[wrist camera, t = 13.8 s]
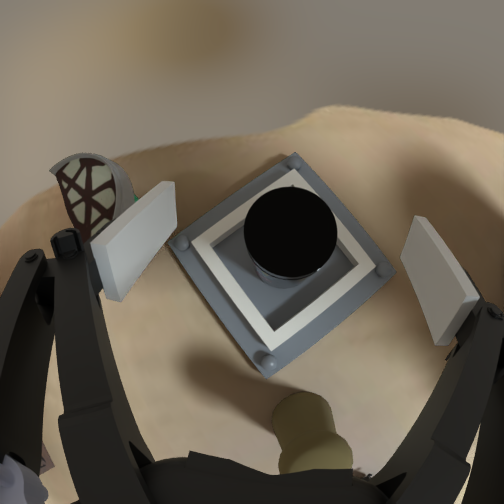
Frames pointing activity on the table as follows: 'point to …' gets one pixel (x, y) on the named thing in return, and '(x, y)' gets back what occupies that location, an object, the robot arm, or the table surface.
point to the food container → (93, 191)
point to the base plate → (270, 298)
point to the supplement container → (289, 235)
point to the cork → (308, 435)
